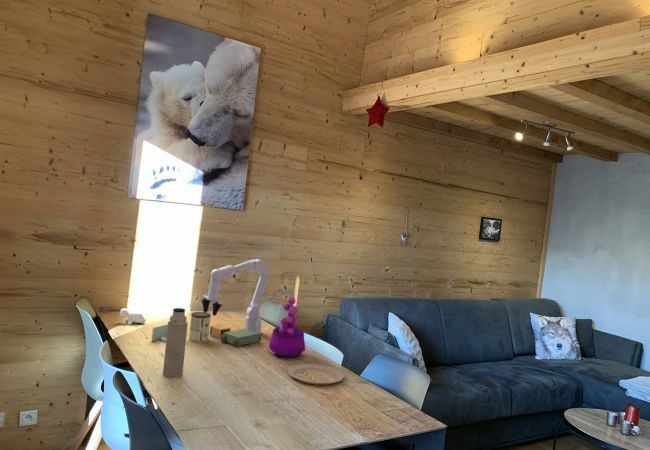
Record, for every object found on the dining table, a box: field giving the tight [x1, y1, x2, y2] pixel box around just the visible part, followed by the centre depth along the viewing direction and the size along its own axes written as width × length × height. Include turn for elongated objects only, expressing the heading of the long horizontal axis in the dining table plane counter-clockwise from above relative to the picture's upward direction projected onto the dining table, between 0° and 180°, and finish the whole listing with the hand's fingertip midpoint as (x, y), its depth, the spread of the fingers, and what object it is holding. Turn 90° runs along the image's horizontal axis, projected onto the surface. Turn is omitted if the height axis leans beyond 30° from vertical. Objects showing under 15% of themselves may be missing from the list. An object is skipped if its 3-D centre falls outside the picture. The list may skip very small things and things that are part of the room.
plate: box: [287, 363, 345, 386], centre depth 219 cm, size 26×26×2 cm
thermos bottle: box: [162, 307, 189, 379], centre depth 203 cm, size 8×8×28 cm
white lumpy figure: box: [119, 308, 147, 326], centre depth 279 cm, size 9×8×15 cm
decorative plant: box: [268, 296, 306, 358], centre depth 248 cm, size 19×18×30 cm
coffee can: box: [188, 311, 212, 343], centre depth 259 cm, size 10×10×14 cm
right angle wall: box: [151, 323, 168, 343], centre depth 252 cm, size 12×12×8 cm
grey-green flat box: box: [209, 328, 262, 348], centre depth 267 cm, size 18×25×5 cm
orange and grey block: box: [209, 324, 232, 337], centre depth 273 cm, size 9×8×4 cm
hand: (209, 313), depth 276 cm, fingers open, 7 cm apart
